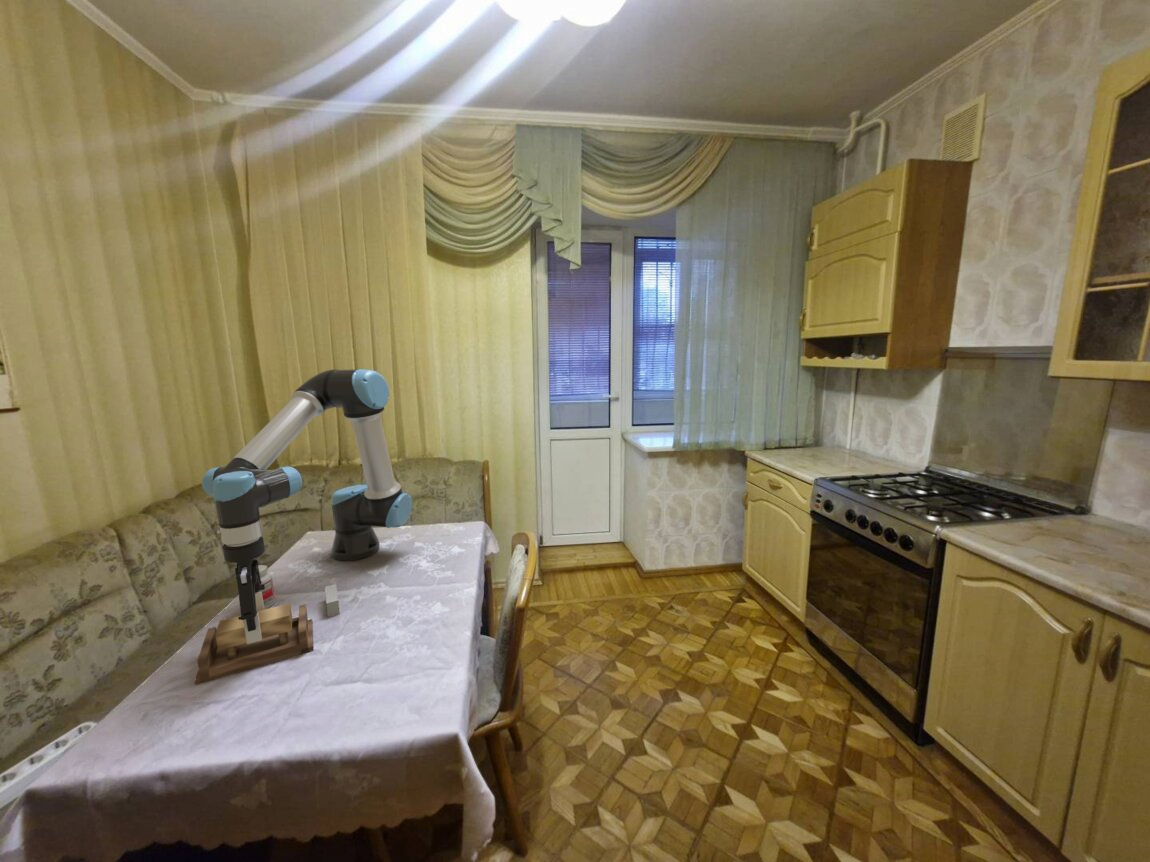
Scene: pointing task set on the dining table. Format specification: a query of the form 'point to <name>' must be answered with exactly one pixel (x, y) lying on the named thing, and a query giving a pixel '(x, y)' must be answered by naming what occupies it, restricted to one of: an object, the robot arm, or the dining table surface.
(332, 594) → the stand
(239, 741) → the dining table surface
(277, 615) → the plank
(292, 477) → the robot arm
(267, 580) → the pill bottle
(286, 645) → the peg frame
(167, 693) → the dining table surface
